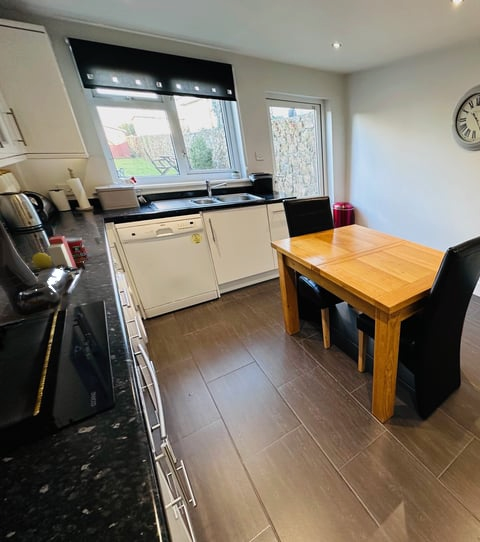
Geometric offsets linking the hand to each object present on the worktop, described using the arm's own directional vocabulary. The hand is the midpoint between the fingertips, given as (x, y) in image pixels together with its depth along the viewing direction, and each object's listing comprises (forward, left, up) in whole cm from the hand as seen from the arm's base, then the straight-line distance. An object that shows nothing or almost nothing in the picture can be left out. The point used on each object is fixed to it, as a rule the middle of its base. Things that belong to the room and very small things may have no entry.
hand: (61, 266), depth 112 cm
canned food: (-1, +31, -7) cm, 32 cm away
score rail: (0, -1, -7) cm, 7 cm away
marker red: (0, +8, -6) cm, 9 cm away
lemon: (-11, +24, -7) cm, 27 cm away
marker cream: (0, +2, -6) cm, 6 cm away
